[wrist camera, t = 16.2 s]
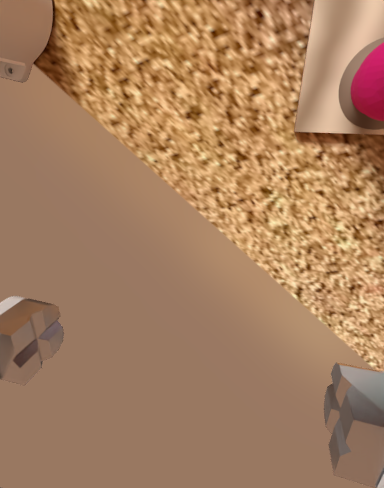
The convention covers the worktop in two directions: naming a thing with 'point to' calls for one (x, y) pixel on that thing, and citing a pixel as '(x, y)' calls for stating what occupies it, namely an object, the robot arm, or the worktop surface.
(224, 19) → the worktop surface
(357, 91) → the pepper mill
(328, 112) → the condiment board
